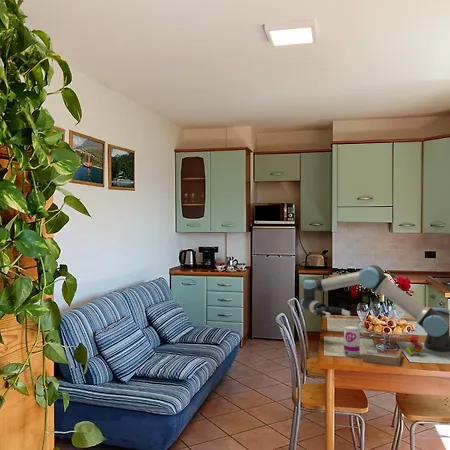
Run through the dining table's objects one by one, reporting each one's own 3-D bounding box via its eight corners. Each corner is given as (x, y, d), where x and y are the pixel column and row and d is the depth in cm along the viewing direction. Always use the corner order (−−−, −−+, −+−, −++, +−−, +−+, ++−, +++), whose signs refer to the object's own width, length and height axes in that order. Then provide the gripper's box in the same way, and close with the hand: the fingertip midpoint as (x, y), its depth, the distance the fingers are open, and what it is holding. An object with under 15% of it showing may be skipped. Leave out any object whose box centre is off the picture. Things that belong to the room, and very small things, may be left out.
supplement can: (357, 357, 240) (357, 330, 240) (342, 355, 245) (342, 328, 244) (361, 354, 247) (361, 326, 247) (346, 351, 251) (346, 325, 251)
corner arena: (401, 356, 242) (401, 349, 242) (399, 366, 226) (399, 358, 226) (367, 352, 250) (367, 345, 250) (362, 361, 234) (362, 353, 234)
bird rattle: (416, 356, 248) (401, 350, 248) (424, 338, 248) (409, 332, 248) (420, 360, 242) (405, 353, 242) (429, 341, 242) (413, 335, 242)
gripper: (335, 312, 279) (357, 319, 260) (300, 315, 270) (321, 323, 250) (335, 300, 279) (357, 306, 260) (300, 303, 270) (321, 310, 250)
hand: (339, 314), depth 255 cm, fingers open, 13 cm apart
